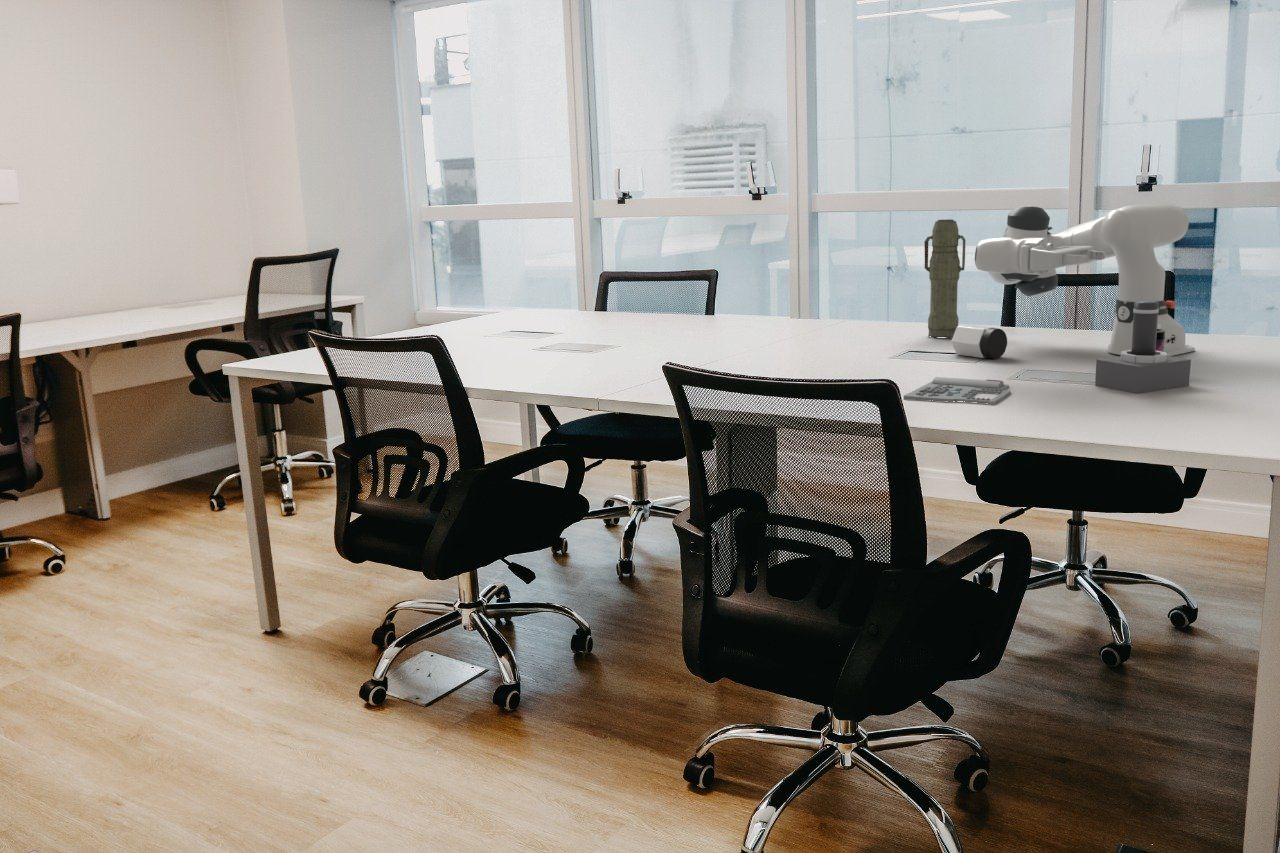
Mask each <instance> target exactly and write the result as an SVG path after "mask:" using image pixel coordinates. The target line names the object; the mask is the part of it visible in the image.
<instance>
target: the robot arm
mask: <svg viewBox="0 0 1280 853" xmlns="http://www.w3.org/2000/svg"><path fill="white" fill-rule="evenodd" d="M1006 221H1007V222H1006V226H1007V227H1006V229H1005V231H1004V233H1003V235H1002V236H1001V237H991V238H984V239H980V240H979V241H978V243H977V245H976V247H975V253H974V264H975V266H976V269H977V270H979V271H982V272H983V271H984V272H988V275H989V277H991V279H992V280H994V281H995V282H996V283H999V284H1002V285H1013V284H1015V285H1016V286H1014V288H1015V289H1018V291H1019V292H1020V293H1021V294H1022V295H1024V296H1026V297H1032V298H1040V297H1043V296H1046V295H1048V294H1050V293H1051V292H1052V291H1054V290H1056V288H1057V287H1058V285H1059V283H1058V282H1059V280H1058V279H1059V278H1058V277H1059V276H1058V274H1057V271H1056V270H1057V268H1063V267H1069V266H1079V265H1080V266H1081V265H1084V264H1089V263H1094V262H1098V261H1101V260H1106V259H1109V258H1113V257H1115V259H1116V263H1117V266H1118V267H1117V268H1118V269H1117V270H1118V290H1117V291H1118V292H1117V293H1118V294H1117V299H1116V301H1115V306H1114V307H1115V310H1114V311H1115V313H1116V317H1115V319H1114V322H1113V327H1112V333H1111V338H1110V339H1111V340H1110V344H1108V345H1107V351H1108V353H1109V354H1112V355H1113V354H1114V355H1119V356H1121V351H1127V350H1132V333H1133V316H1134V312H1133V309H1134V302H1137V301H1155V302H1159V305H1158V309H1159V313H1158V321H1157V329H1161V330H1165V343H1164V352H1166V354H1167V356H1171V357H1174V356H1178V355H1181V354H1187V353H1191V352H1195V351H1196V348H1195V346H1193V345H1189V344H1186V331H1185V328H1184V327H1183V326H1182V325H1181V324H1180V323H1178V322H1177V320H1175V319H1174V318H1173V317H1172V316H1171V315H1169V310H1168V309H1172V310H1173V309H1175V307H1176V301H1174V300H1165V299H1164V298H1165V284H1166V270H1165V268H1164V267H1163V266H1162V265H1161V264H1160V263H1159V262H1158V260H1157V258H1156V253H1155V248H1159V247H1164V246H1167V245H1169V244H1173V243H1175V242H1177V241H1180V240H1181V239H1183V237H1184V236H1185V235H1186V234H1187V232H1188V229H1189V222H1190V220H1189V216H1188V214H1187V212H1186V211H1185V210H1184V209H1183V208H1182V207H1180V206H1177V205H1174V204H1170V203H1169V204H1168V203H1149V204H1147V203H1146V204H1131V205H1124V206H1122V207H1119V208H1115V209H1113V210H1110V212H1108V213H1107V214H1106V215H1105V216H1102V217H1099V218H1095V219H1093V220H1089V221H1086V222H1083V223H1079V224H1077V225H1074V226H1072V227H1070V228H1067V229H1065V230H1063V231H1061V232H1060V231H1059V232H1058V233H1051V232H1050V230H1051V231H1052V230H1053V228H1054V227H1052V226H1049V225H1050V221H1051V217H1050V216H1049V214H1048V213H1047V212H1046V211H1045V210H1044V209H1043V208H1042V207H1038V206H1035V205H1022V206H1018V207H1016V208H1014V209H1012V210H1011V212H1009V213H1008V214H1007V219H1006Z"/></svg>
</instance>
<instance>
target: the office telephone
mask: <svg viewBox="0 0 1280 853" xmlns="http://www.w3.org/2000/svg"><path fill="white" fill-rule="evenodd" d="M1009 387H1010V385H1009V384H1007V383H1004V381H1003V380H1001V379H1000V380H997V379H976V378H975V379H972V378H959V377H944V376H943V377H942V376H935V377H934V378H933V380H932V381H930V382H928V383H926V384H924V385H922V386H920V387H919V388H916V389H915V390H912V391H910V392H909V393H906V394H904V395H903V400H907V399H909V401H911V400H910V399H915V400H914V401H920V400H931V401H930V402H934V401H948V402H947V403H949V402H953V401H963V402H964V401H965V402H977V403H988V404H995V403H997V402H998V403H1000V402H1001V401H1003V400H1004V399H1005V398H1007V397H1008V396H1010V395H1011V393H1012V390H1008V388H1009ZM1006 388H1007V389H1006ZM1005 389H1006V390H1005ZM977 392H988V393H987V394H989V393H998V394H997V396H995V397H994V398H989V397H987V398H985V397H982V398H981V397H977V398H976V397H974V396H975V395H976V394H975V393H977ZM974 394H975V395H974ZM977 394H978V393H977ZM972 395H974V396H972ZM1007 395H1008V396H1007ZM971 396H972V397H971ZM1006 396H1007V397H1006ZM970 397H971V398H970ZM1003 398H1004V399H1003ZM1002 399H1003V400H1002ZM932 400H933V401H932ZM1000 400H1001V401H1000ZM999 401H1000V402H999ZM953 403H954V402H953ZM998 403H997V404H998ZM988 404H987V405H988ZM995 405H996V404H995Z"/></svg>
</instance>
